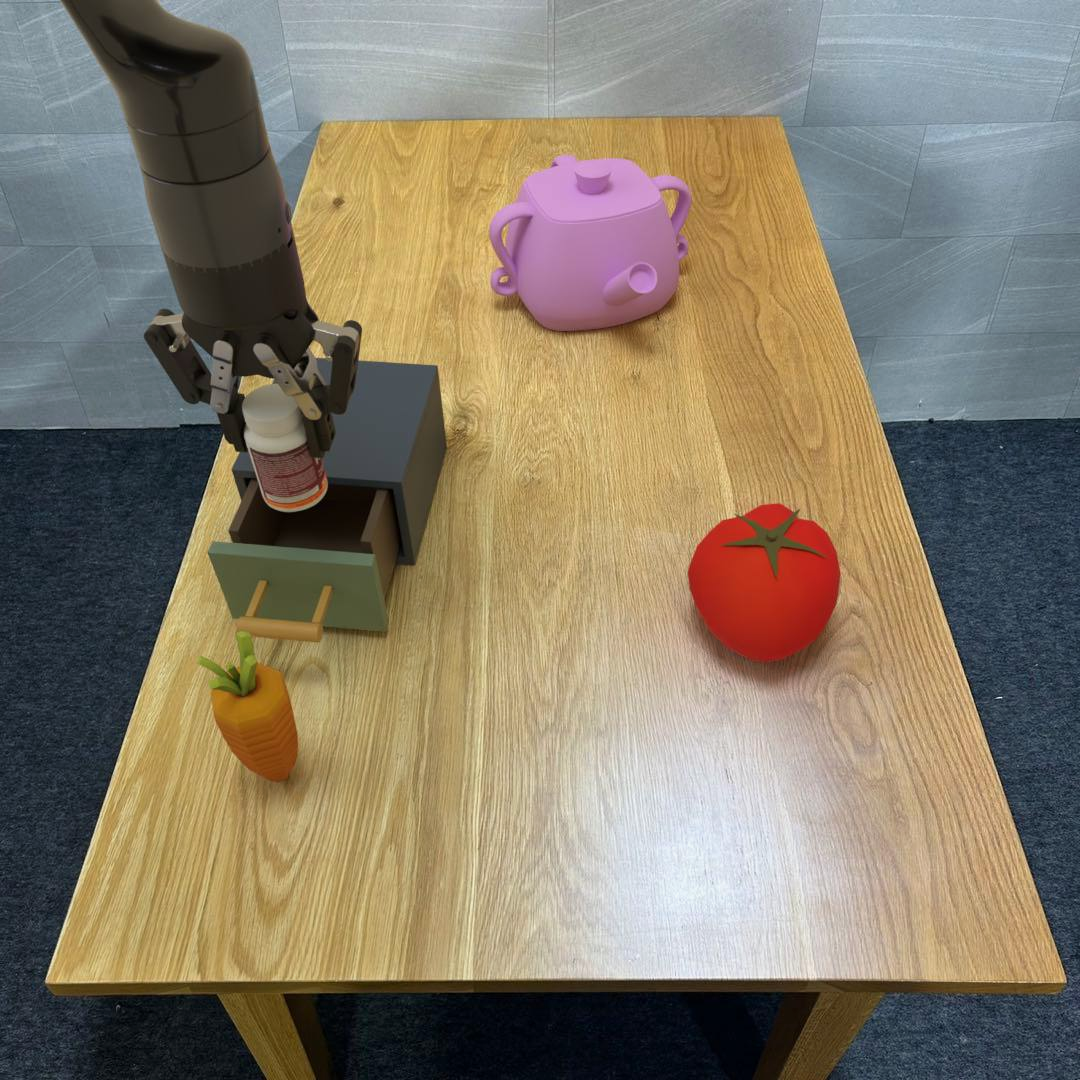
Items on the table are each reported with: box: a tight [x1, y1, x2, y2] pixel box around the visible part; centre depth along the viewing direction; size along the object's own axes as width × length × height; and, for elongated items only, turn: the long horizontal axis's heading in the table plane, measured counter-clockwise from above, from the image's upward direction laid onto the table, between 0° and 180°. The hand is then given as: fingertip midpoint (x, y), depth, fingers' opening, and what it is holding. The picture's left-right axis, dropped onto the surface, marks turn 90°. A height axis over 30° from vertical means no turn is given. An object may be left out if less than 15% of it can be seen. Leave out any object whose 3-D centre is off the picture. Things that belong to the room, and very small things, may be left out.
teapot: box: [488, 154, 693, 332], centre depth 108 cm, size 19×21×14 cm
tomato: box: [687, 502, 841, 663], centre depth 78 cm, size 11×13×10 cm
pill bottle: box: [242, 383, 328, 512], centre depth 72 cm, size 5×5×8 cm
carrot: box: [197, 631, 299, 783], centre depth 67 cm, size 5×5×15 cm
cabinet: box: [231, 357, 448, 566], centre depth 88 cm, size 15×14×10 cm
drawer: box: [207, 478, 402, 644], centre depth 81 cm, size 18×12×8 cm
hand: (283, 446), depth 72 cm, fingers closed on pill bottle, 4 cm apart
